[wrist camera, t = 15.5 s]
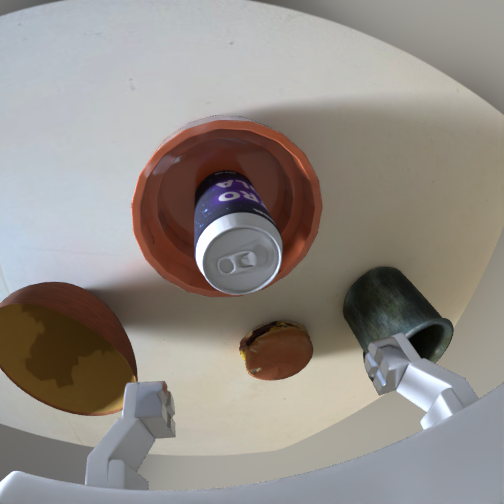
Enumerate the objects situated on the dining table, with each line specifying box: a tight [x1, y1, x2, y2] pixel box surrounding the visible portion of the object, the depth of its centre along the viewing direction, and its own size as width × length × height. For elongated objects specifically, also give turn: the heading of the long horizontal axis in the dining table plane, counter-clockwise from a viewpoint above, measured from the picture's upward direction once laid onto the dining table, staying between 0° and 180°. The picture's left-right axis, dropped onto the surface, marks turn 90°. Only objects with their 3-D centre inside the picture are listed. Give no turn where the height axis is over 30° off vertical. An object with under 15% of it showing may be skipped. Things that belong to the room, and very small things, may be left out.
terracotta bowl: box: [131, 115, 322, 297], centre depth 26 cm, size 15×15×6 cm
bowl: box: [0, 282, 138, 416], centre depth 28 cm, size 18×18×10 cm
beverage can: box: [194, 170, 283, 295], centre depth 23 cm, size 6×6×12 cm
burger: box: [239, 321, 313, 380], centre depth 38 cm, size 10×9×5 cm
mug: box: [343, 267, 454, 382], centre depth 35 cm, size 11×15×12 cm
